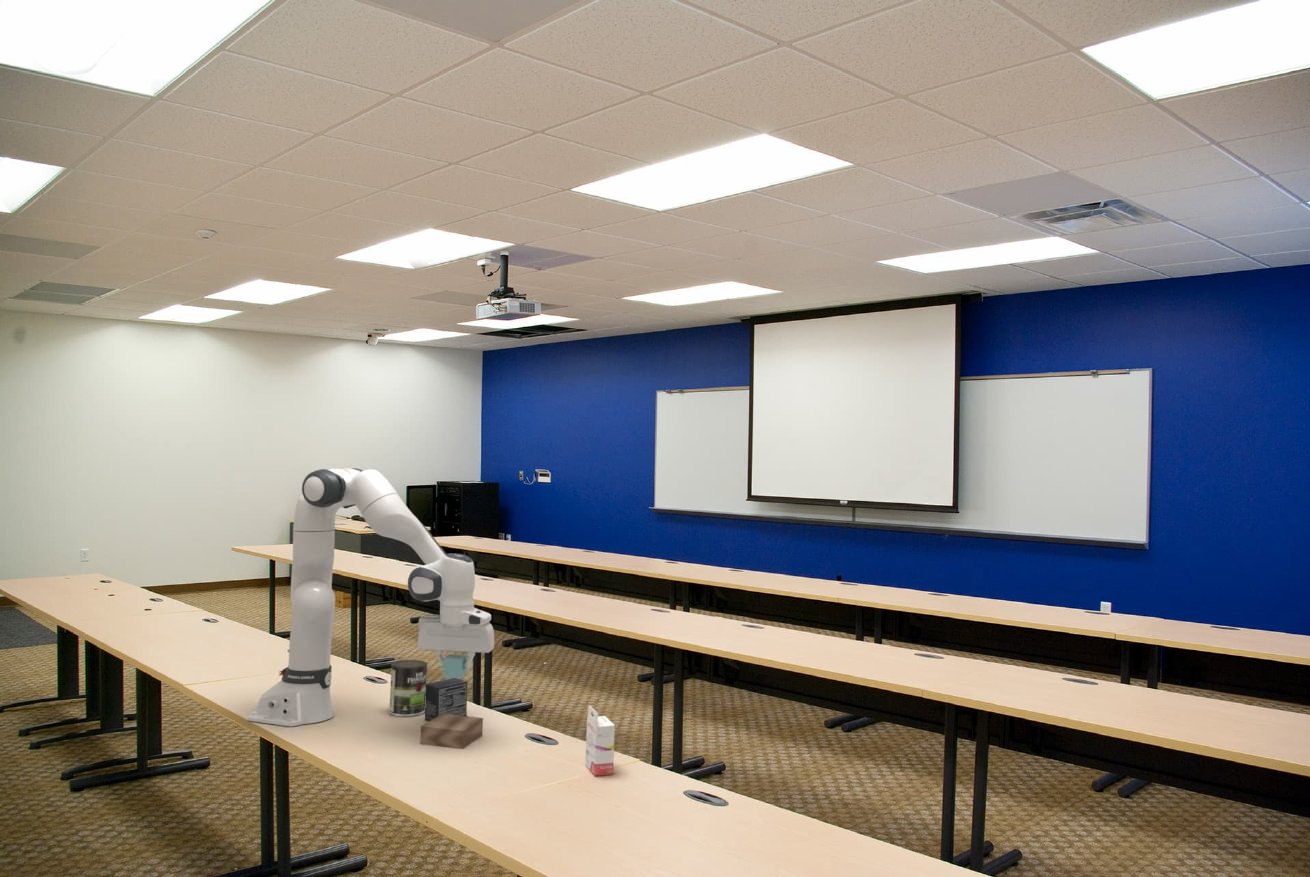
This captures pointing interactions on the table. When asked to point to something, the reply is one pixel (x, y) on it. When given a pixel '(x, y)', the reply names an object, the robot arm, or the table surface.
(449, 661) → the teal cube
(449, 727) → the walnut base block
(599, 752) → the ink cartridge box
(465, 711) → the small box
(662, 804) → the table surface
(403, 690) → the coffee can
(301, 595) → the robot arm
